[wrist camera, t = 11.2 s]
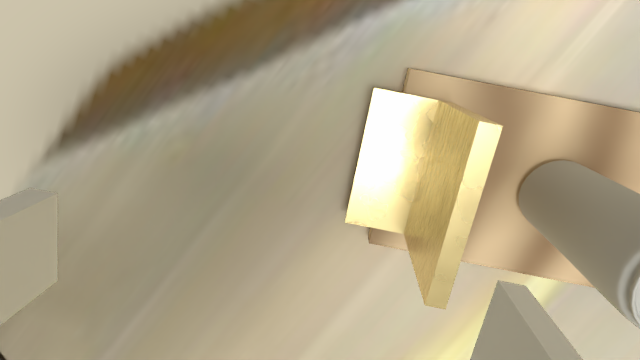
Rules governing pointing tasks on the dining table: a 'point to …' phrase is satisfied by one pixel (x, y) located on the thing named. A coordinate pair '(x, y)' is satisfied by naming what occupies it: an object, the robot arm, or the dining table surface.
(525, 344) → the robot arm
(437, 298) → the bookend
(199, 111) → the dining table surface
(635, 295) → the beverage can
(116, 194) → the dining table surface
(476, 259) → the shelf
